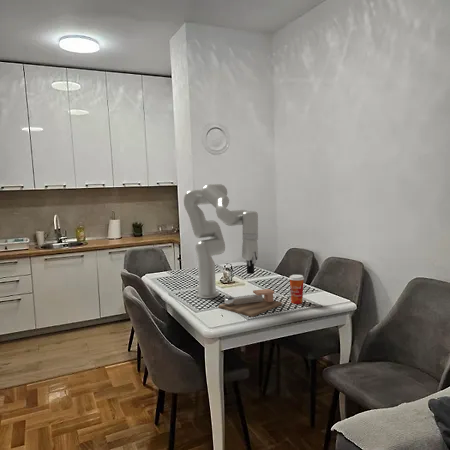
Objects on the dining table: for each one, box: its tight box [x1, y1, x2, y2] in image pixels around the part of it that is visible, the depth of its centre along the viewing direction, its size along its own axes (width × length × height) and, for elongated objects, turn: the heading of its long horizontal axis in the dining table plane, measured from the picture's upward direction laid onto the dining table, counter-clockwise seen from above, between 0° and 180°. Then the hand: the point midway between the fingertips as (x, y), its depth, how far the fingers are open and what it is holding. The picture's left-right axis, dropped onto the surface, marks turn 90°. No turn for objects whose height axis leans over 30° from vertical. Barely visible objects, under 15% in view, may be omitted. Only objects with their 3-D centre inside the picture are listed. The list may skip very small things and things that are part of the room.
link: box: [224, 293, 264, 306], centre depth 205 cm, size 20×5×4 cm, turn 109°
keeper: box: [252, 288, 275, 302], centre depth 208 cm, size 10×6×6 cm, turn 107°
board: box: [217, 297, 282, 318], centre depth 204 cm, size 22×24×1 cm
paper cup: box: [288, 274, 305, 305], centre depth 208 cm, size 8×8×14 cm
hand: (250, 273), depth 197 cm, fingers closed
